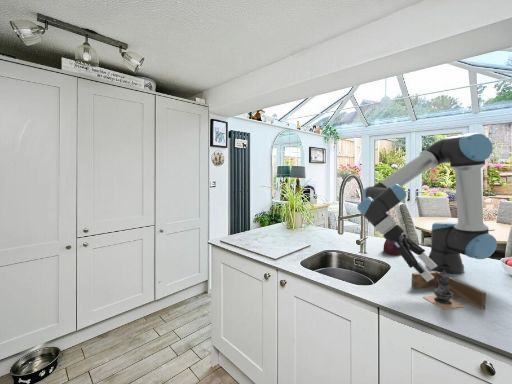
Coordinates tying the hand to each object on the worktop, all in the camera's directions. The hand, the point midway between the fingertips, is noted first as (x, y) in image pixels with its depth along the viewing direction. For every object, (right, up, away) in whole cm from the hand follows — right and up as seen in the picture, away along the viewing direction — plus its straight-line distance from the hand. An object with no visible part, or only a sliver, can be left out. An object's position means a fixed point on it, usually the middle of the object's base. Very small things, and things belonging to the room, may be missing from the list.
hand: (432, 273), depth 95 cm
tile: (+3, -10, -1) cm, 11 cm away
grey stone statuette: (+3, -10, -1) cm, 11 cm away
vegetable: (+15, -6, +55) cm, 58 cm away
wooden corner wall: (+7, -10, +2) cm, 12 cm away
